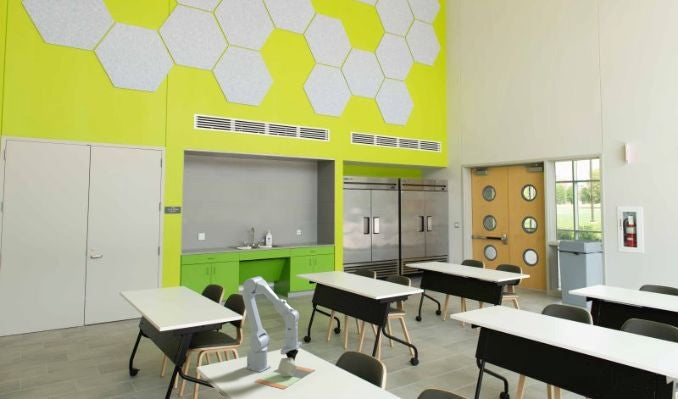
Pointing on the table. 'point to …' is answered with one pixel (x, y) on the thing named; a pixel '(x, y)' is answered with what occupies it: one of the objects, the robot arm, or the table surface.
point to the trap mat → (284, 378)
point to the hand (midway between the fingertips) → (291, 365)
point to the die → (287, 367)
